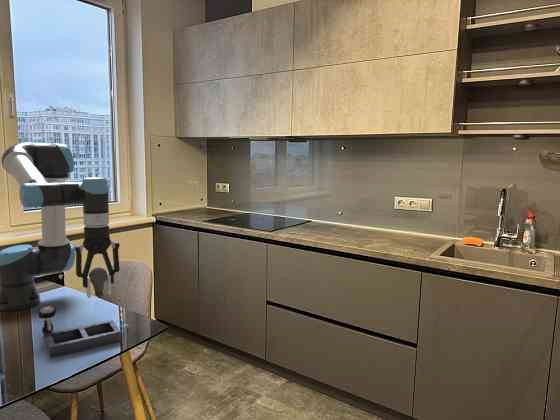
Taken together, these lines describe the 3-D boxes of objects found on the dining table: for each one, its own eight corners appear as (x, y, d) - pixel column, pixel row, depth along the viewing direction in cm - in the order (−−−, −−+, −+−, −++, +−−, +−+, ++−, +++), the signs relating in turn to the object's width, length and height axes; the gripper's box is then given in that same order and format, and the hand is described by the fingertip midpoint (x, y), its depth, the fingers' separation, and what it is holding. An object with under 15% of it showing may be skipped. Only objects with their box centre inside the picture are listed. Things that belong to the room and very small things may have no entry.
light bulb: (93, 294, 136) (92, 265, 134) (110, 294, 136) (109, 265, 135) (87, 300, 130) (85, 270, 129) (105, 300, 131) (103, 270, 130)
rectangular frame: (45, 344, 130) (45, 333, 130) (112, 329, 142) (112, 320, 142) (50, 358, 122) (49, 347, 121) (121, 341, 134) (120, 331, 133)
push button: (35, 335, 136) (34, 307, 135) (53, 330, 140) (51, 303, 139) (42, 342, 132) (40, 312, 130) (59, 337, 135) (58, 308, 134)
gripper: (66, 229, 122) (69, 303, 125) (129, 225, 133) (131, 293, 136) (62, 226, 128) (65, 296, 131) (123, 221, 139) (124, 287, 142)
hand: (98, 294), depth 133 cm, fingers closed on light bulb, 5 cm apart
